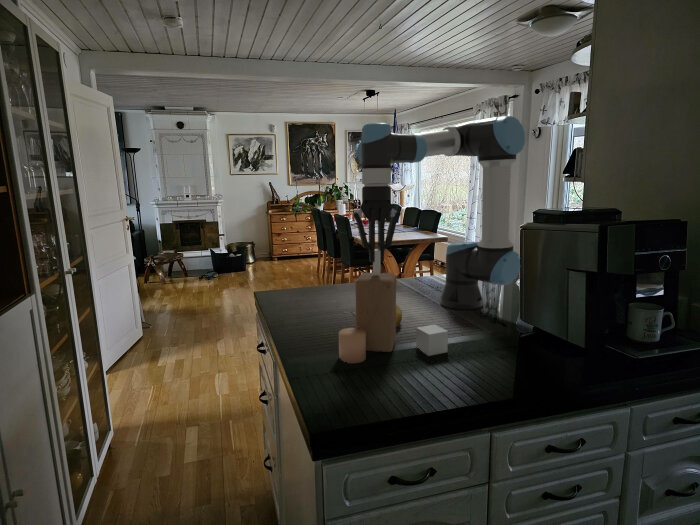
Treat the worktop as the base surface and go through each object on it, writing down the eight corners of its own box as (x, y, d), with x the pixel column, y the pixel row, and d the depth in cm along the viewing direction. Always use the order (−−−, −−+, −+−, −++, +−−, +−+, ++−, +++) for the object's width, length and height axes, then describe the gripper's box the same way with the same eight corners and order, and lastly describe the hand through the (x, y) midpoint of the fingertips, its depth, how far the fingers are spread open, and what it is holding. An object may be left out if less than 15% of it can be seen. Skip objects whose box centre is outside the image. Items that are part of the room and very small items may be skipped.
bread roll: (379, 316, 147) (379, 293, 146) (407, 319, 144) (407, 296, 142) (367, 328, 135) (367, 304, 134) (397, 332, 132) (398, 306, 130)
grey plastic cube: (434, 344, 121) (434, 324, 120) (447, 352, 116) (448, 331, 115) (416, 348, 119) (416, 327, 118) (428, 356, 114) (429, 334, 112)
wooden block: (392, 353, 115) (392, 280, 112) (355, 351, 117) (354, 279, 114) (395, 340, 125) (396, 272, 121) (361, 338, 127) (361, 271, 123)
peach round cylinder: (363, 351, 117) (362, 327, 116) (368, 362, 110) (368, 336, 109) (337, 353, 116) (337, 328, 115) (341, 364, 109) (340, 338, 108)
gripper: (396, 184, 118) (396, 269, 122) (349, 185, 115) (350, 271, 120) (404, 185, 110) (403, 275, 115) (354, 186, 108) (355, 277, 113)
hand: (376, 273), depth 117 cm, fingers closed
